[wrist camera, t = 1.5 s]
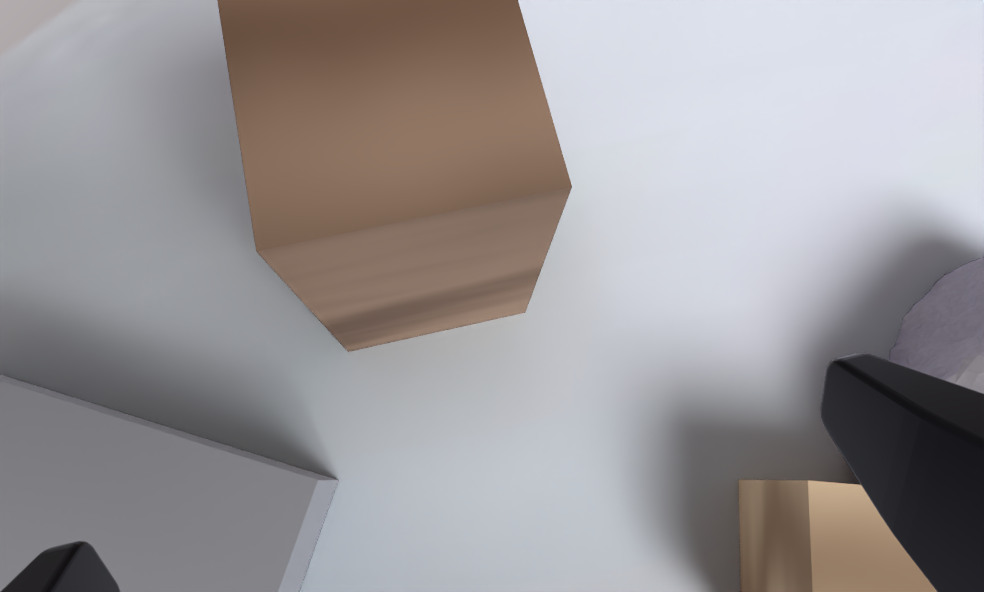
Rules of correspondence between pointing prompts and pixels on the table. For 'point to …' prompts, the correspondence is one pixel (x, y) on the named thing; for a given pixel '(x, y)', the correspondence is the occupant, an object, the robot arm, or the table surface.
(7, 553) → the slate slab
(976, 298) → the stone block
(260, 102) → the walnut pillar
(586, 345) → the table surface
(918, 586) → the oak cube
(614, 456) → the table surface
